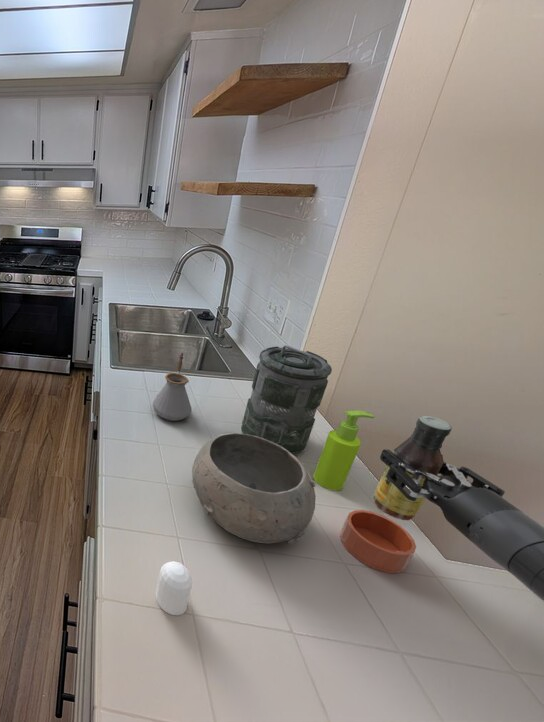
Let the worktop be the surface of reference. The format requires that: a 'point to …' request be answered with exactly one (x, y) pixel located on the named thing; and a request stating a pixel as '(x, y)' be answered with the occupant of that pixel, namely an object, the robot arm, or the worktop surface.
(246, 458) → the bowl
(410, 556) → the holder
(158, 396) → the coffee pot
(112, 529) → the worktop surface
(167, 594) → the capsule
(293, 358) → the canister
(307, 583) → the worktop surface
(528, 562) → the robot arm
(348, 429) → the soap dispenser
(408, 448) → the sauce bottle
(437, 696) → the worktop surface
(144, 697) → the worktop surface
